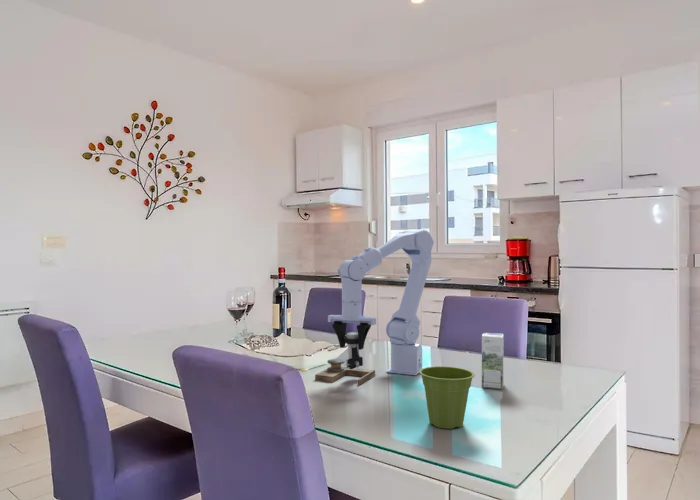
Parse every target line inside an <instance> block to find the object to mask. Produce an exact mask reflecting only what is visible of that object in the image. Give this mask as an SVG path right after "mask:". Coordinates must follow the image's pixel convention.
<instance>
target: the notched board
mask: <svg viewBox="0 0 700 500" xmlns="http://www.w3.org/2000/svg"><path fill="white" fill-rule="evenodd" d="M345 362H346V360H345V359H341V358H333V359H328V360H327V364H330V366H328V367H327V368H326V369H323V370H322V371H320V372H318V373H315V375H314V380H315V381H321V382H322V381H323V382H330V383H334V382H336V381H337V380H340V379H342V377H345V376H347V375H348V376H356V377H357V376H359V377H360V378H358V379H357V386H362V384H364V383H365V382H367V381H369V380H370V379H372V378H373V377H375V376H376V370H375V369H368V368H367V369H366V368H360V367H358V368H357V367H356V368H354V369H349V368H347V369H344V368H346V367H347V366H342V364H344V363H345ZM345 364H346V363H345Z"/></svg>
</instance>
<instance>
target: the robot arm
mask: <svg viewBox="0 0 700 500" xmlns="http://www.w3.org/2000/svg"><path fill="white" fill-rule="evenodd" d="M434 243H435V241H434V239H433V237H432V235H431V234H430V232H429V231H428V230H424V229H423V230H404V231H402V232H401V233H400V232H399V233H397V234H396V235H395V236H394V237H393V238H391V239H390V240H388V241H387V242H385V243H383V244H381V246H379V247H377V248H375V247H366V248H364V249H363V250H364V251H363V252H361V253H359V254H355V255H353V256H352V258H351V259H346V260H343V261H342V262H341V264H340V265H339V269H337V274H338V277H340V279H341V280H340V281H341V314H329V315H327V322H328V323H333V324H331V326H332V328H333V330H334V332H335V334H336V336H337V340H338V344H339V348H340V349H343V348H346V343H345V339H344V336H346V334H347V333H346V332H347V331H346V329H347V326H348V325H347V324H355V325H356V324H357V325H356V330H357V332H358V349H359V351H362V350H363V349H364V348H365V341H366V339H367V335H368V333H369V331H370V329H371V327H372V326H375V325H377V317H376V316H375V317H374V316H373V317H371V316H366V315H365V316H364V315H362V314H363V313H362V306H363V305H362V291H363V290H362V287H363V286H362V283H363V282H362V281H363V279H364V278H365V277H366V274H367V273H369V272H370V271H371V270H373V269H375V268H376V267H379V266H380V265H381V264H382V263H383V259H384V258H385V257H388V256H389V255H391V254H394V253H396V252H398V251H400V250H402V251H403V252H404V253H405V254H406V255H407V256H408V257H409V259H410V260H411V262H412V264H411V268H410V271H409V275H408V278H407V281H406V285H405V288H404V291H403V295H402V298H401V302H400V304H399V308H398V310H396V311H395V312H394V313H393V314H391V315H392V316H391V319H390V320H389V321H388V322H387V324H386V328H385V332H386V333H385V334H386V335H387V337H388V338H389V342H390V368H388V369H386V371H385V372H386V373H391V374H399V375H411V376H417V375H418V374H420V373H419V371H420V370H421V369H423V368H424V367H423V348H422V347H423V346H422V344H420V343H417V342H416V341H418V339H419V337H420V325H421V321H420V318H419V317H418V316H417V314H418V313H417V312H418V309H419V305H420V302H421V298H422V295H423V291H424V289H425V284H426V281H427V277H428V274H429V270H430V267H431V264H432V249H433V246H434Z"/></svg>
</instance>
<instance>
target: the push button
mask: <svg viewBox="0 0 700 500" xmlns="http://www.w3.org/2000/svg"><path fill="white" fill-rule="evenodd" d="M344 339H345V344H347V351H348V357H347V359H346V360H345V362H346V363H345V364H344V365H343V367H346V368H344V369H347V368H349V369H354V368H360V367H362V366H364V358H363V356H360V350H359V349H358V331H351V332H347V333H346V335H345V336H344Z"/></svg>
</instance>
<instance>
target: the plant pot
mask: <svg viewBox="0 0 700 500" xmlns="http://www.w3.org/2000/svg"><path fill="white" fill-rule="evenodd" d="M422 368H423V369H421V370H420V371H419V373H418V374H420V375H421V379H422V384H423V386H424V393H425V400H426V407H427V414H428V421H429V424H430V425H432V426H434V427H436V428H439V429H445V430H452V429H454V428H461V427H462V426H464V421H465V415H466V414H465V413H466V408H467V404H468V403H467V402H468V397H469V392H470V388H471V387H472V381H473V378H474V377H475V376H476V374H475V373H474V372H473V371H471V370H469V369H465V368H463V367H462V368H461V367H456V366H444V365H443V366H441V365H437V366H427V367H422Z"/></svg>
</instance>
